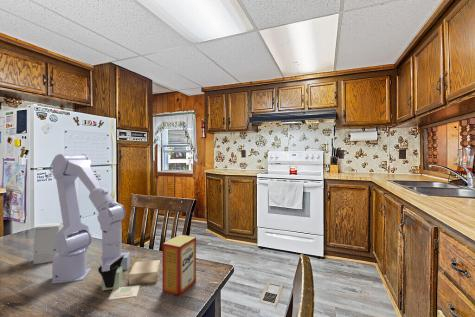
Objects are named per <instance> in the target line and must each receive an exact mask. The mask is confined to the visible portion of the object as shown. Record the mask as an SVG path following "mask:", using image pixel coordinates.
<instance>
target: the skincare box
mask: <svg viewBox="0 0 475 317" xmlns="http://www.w3.org/2000/svg"><path fill="white" fill-rule="evenodd" d="M62 228H63V222H48V223H47V222H46V223H39V224H38V225H36V226H35V227H34V238H33V239H34V241H33V261H32V262H33V265H38V264H44V263H51V262H52V263H53V259H54V257H55V255H56V254H57V251H56V249H55V243H56V234H57V233H58V232H59V231H60V230H61V229H62Z"/></svg>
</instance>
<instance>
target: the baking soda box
mask: <svg viewBox="0 0 475 317" xmlns="http://www.w3.org/2000/svg"><path fill="white" fill-rule="evenodd" d="M196 281H197V237H196V236H192V235H186V234H179V235H177V236H174V237H172V238H170V239H169V240H167V241H165V242H163V243H162V282H161V284H162V292H164V293H168V294H171V295H174V297H180V296H182V295H183V294H184V293H185V292H186V291H187V290H188V289H190V287H191V286H193V285H194V284H195V283H196Z"/></svg>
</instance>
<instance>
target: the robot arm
mask: <svg viewBox="0 0 475 317" xmlns="http://www.w3.org/2000/svg"><path fill="white" fill-rule="evenodd" d="M51 167H52V168H51V169H52V175H53V179H54V180H55V181H56V187H57V194H58V200H59V206H60V214H61V220H62V223H63V228H62V229H61V230H60V231H59V232H58V233H57V234H56V243H55V249H56V251H57V254H56V255H55V257H54V259H53V262H52V269H51V270H52V272H51V273H52V275H51V276H52V281H51V282H50V284H59V283H69V282H78V281H83V280H84V279H85V278H86V276H88V273H89V272H90V271H91V268H90V267H89V268H87V250H88V249H89V246H90V245H91V244H92V240H93V236H92V233H91V231H90V230H89V229H90V228H89V226H88V225H86V224H84V223H82V221H81V214H80V213H81V212H80V208H79V207H80V206H79V200H78V196H77V188H76V183H75V181H76V180H77V178H78V179H79V180H80V181H81V182H82V184H83V185H84V186H85V188H86V189H87V190H88V191H89V194H88V198H89V199H90V202H91V203H92V204H93V206H94V208H95V209H96V211H97V212H98V214H97V220H98V223H99V226H100V227H99V229H100V231H101V235H102V236H101V240H102V241H101V245H102V246H101V248H102V249H101V253H102V254H101V262H102V264H101V265H99V267H98V271H97V272H98V273H99V274H100V275H101V278H102V277H103V280H104V284H105V287H106V288H111V287H113V286H114V281H115V275H116V271H117V269H118V267H120V266H121V262H122V260H123V257H124V256H125V255H126V253H125V252H123V251H122V249H123V248H122V244H123V243H122V242H123V241H122V236H123V234H122V233H123V232H122V229H123V228H122V225H123V224H122V222H123V220H124V219H125V218H126V214H127V213H126V208H125V207H124V205H123V204H121V203H118V201H115V199H114V198H113V197H112V195H111V193H110V192H109V190H108V189H107V187H104V186H101V184H100V183H99V181H98V179H97V178H96V176H95V174H94V172H93V169H92V161H91V159H90V157H89V155H87V154H84V153H82V154H81V153H80V154H76V153H75V154H74V153H73V154H62V153H58V154H56V155H55V156H54V158H53V160H52V161H51Z"/></svg>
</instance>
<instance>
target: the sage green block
mask: <svg viewBox="0 0 475 317" xmlns="http://www.w3.org/2000/svg"><path fill="white" fill-rule="evenodd" d="M122 268H123V267H118V269H117V271H116V275H115V281H114V286H113V287H111V288H106V287H105V284H104V280H103V277H102V276H101V291H107V290H109V291H110V290H113V289H117V288H120V287H121V285H122V283H123V270H122Z"/></svg>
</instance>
